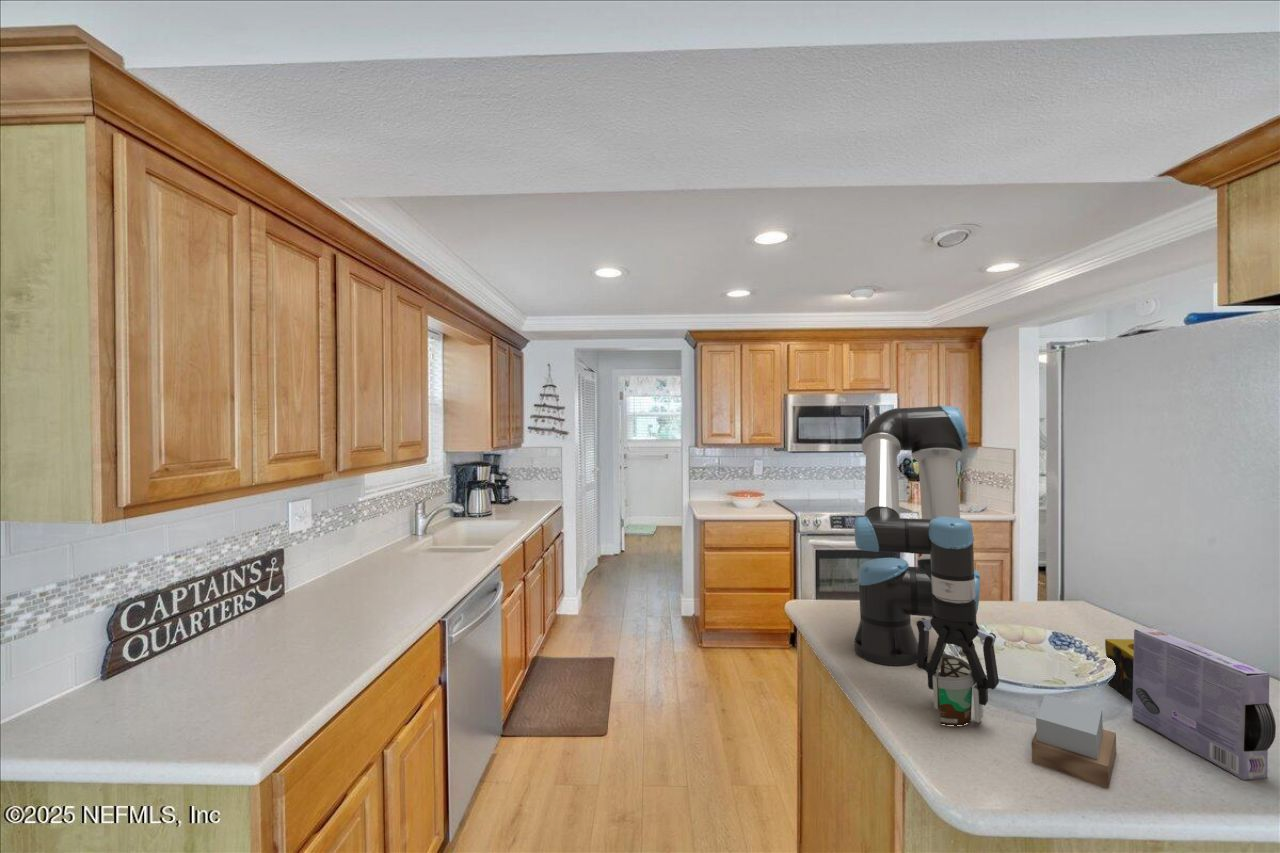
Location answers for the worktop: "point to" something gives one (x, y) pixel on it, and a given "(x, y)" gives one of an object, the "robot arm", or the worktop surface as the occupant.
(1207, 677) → the cake pan box
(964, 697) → the food container
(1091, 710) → the slate top block
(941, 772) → the worktop surface
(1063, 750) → the walnut base block
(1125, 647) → the yellow black cube
